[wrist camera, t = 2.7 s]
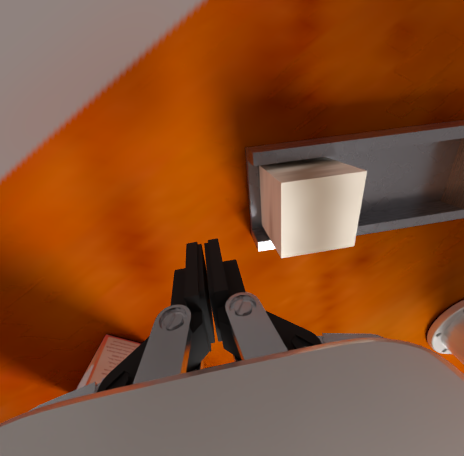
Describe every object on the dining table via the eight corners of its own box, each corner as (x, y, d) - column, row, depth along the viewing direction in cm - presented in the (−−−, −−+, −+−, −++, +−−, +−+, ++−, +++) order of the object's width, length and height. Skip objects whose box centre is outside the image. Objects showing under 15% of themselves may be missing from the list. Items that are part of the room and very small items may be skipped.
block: (323, 156, 21) (367, 170, 15) (318, 216, 23) (354, 245, 18) (259, 164, 20) (281, 183, 15) (261, 224, 23) (281, 258, 18)
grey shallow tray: (468, 118, 22) (510, 119, 19) (439, 205, 26) (469, 217, 23) (244, 147, 20) (252, 153, 17) (251, 235, 24) (258, 251, 21)
